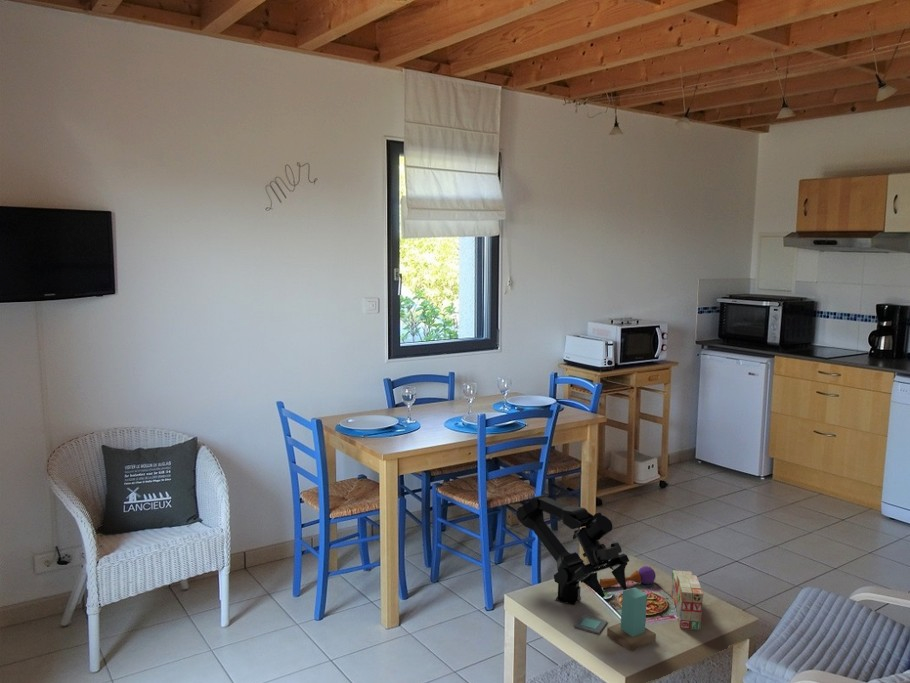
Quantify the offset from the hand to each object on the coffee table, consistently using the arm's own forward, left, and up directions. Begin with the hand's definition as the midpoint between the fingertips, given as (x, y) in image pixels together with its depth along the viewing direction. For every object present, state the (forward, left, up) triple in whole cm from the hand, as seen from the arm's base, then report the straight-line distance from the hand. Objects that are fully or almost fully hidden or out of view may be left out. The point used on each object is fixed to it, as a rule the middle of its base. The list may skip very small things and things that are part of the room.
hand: (614, 593), depth 221 cm
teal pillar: (+7, -3, -9) cm, 11 cm away
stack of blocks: (+17, +21, -11) cm, 29 cm away
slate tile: (-6, -2, -11) cm, 13 cm away
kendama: (-4, +30, -11) cm, 32 cm away
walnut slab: (+7, -3, -12) cm, 14 cm away
